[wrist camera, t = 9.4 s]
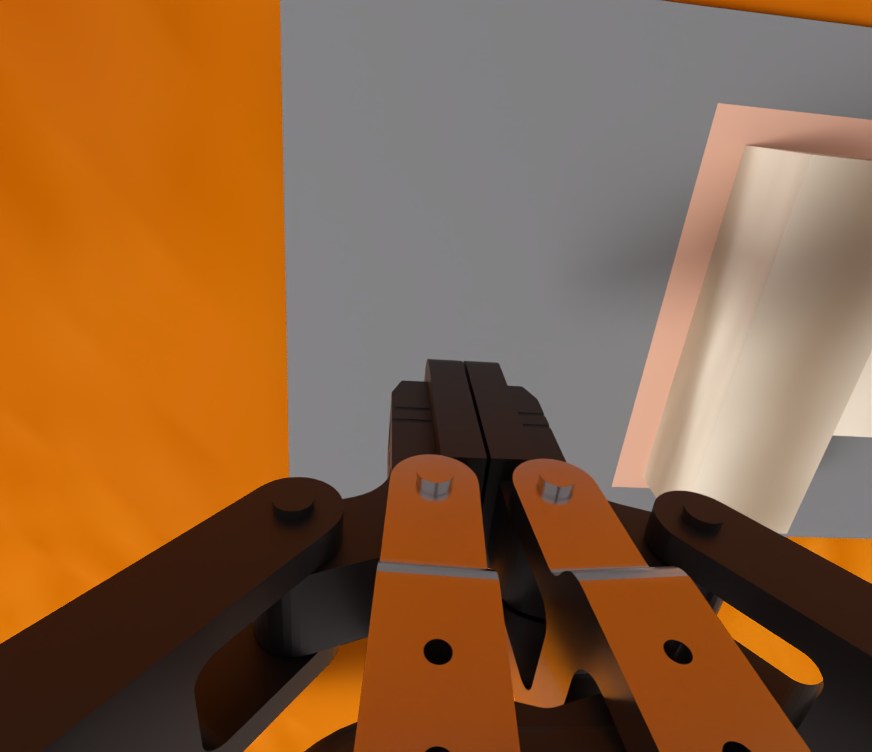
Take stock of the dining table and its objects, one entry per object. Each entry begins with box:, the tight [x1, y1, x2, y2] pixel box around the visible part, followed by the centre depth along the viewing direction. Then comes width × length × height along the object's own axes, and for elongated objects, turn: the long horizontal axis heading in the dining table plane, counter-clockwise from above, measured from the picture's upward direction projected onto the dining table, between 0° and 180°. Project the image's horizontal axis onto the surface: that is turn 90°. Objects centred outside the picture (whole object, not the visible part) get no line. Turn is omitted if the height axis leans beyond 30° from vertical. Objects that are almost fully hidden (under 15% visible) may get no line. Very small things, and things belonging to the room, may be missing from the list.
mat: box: [280, 0, 872, 539], centre depth 20 cm, size 18×27×1 cm, turn 85°
